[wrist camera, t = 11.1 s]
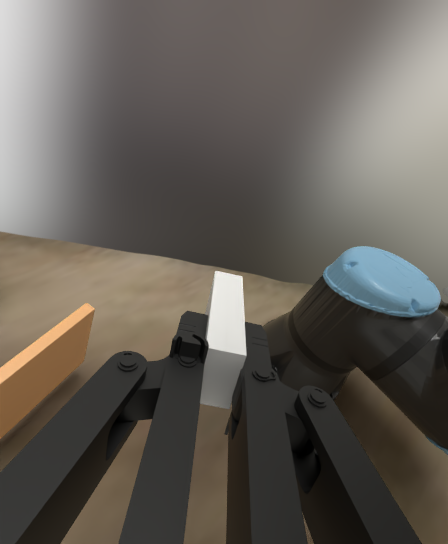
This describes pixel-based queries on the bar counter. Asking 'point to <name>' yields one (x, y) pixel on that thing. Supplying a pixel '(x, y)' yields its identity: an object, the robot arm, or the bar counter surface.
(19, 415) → the side door
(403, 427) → the bar counter surface
